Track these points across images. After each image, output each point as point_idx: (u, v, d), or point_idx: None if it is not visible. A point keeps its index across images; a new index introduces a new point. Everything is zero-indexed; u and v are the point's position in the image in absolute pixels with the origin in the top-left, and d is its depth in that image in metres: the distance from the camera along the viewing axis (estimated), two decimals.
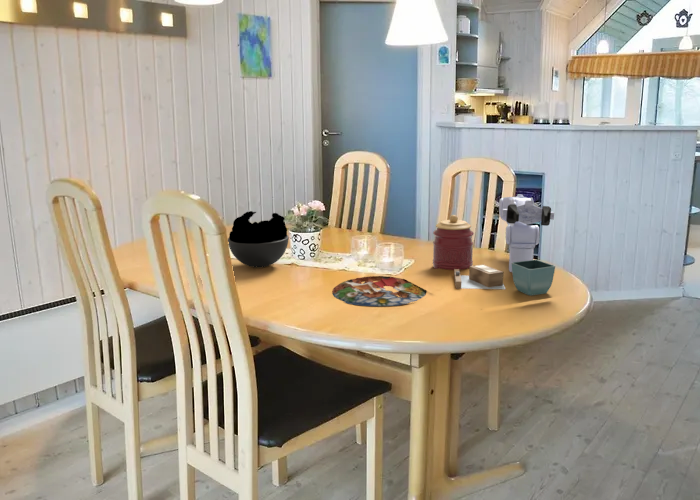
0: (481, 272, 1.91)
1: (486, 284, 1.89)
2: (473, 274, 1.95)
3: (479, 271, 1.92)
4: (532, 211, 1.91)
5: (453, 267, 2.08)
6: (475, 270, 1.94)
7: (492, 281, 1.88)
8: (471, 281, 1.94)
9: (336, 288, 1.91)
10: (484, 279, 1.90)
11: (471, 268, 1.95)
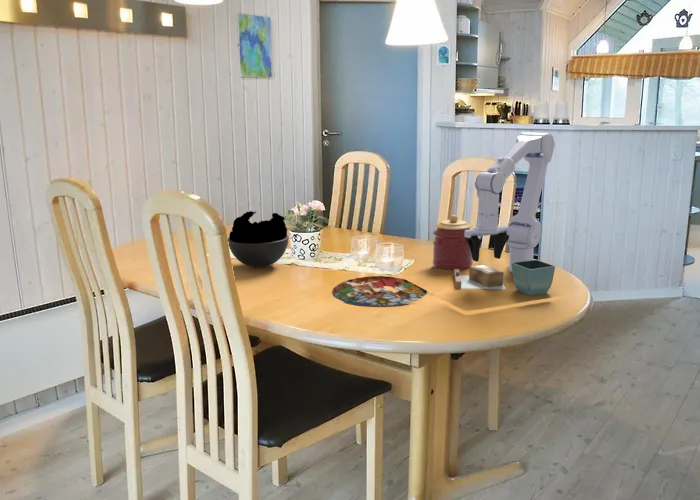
0: (481, 272, 1.91)
1: (486, 284, 1.89)
2: (473, 274, 1.95)
3: (479, 271, 1.92)
4: None
5: (453, 267, 2.08)
6: (475, 270, 1.94)
7: (492, 281, 1.88)
8: (471, 281, 1.94)
9: (336, 288, 1.91)
10: (484, 279, 1.90)
11: (471, 268, 1.95)
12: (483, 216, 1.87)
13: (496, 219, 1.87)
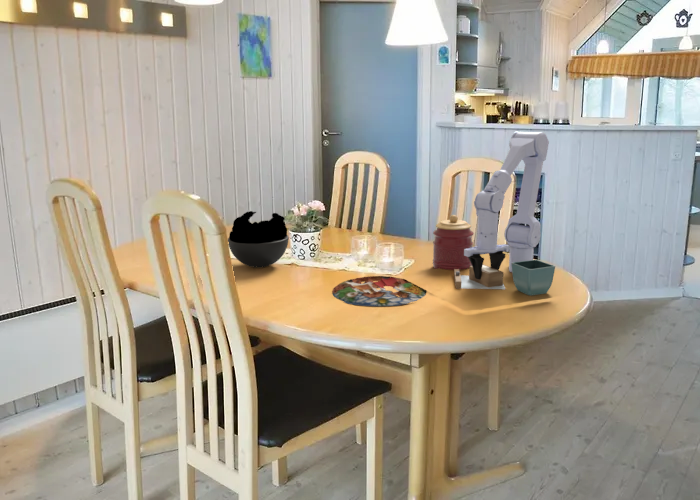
0: None
1: (486, 284, 1.89)
2: (473, 274, 1.95)
3: None
4: None
5: (453, 267, 2.08)
6: None
7: (492, 281, 1.88)
8: (471, 281, 1.94)
9: (336, 288, 1.91)
10: (484, 279, 1.90)
11: (471, 268, 1.95)
12: (482, 235, 1.88)
13: (495, 238, 1.89)
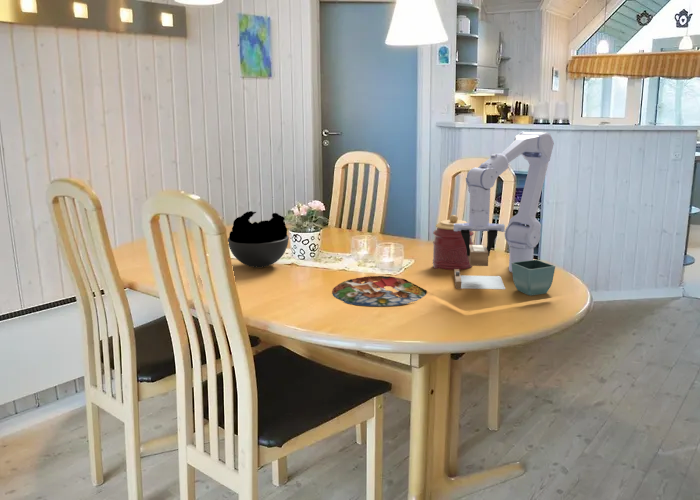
0: None
1: (470, 262, 1.89)
2: None
3: None
4: None
5: (453, 267, 2.08)
6: None
7: (474, 260, 1.87)
8: (471, 281, 1.94)
9: (336, 288, 1.91)
10: None
11: None
12: (471, 211, 1.88)
13: (484, 215, 1.87)
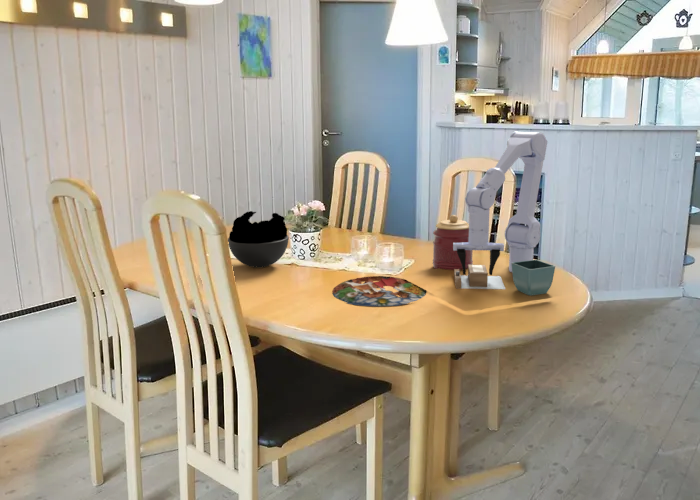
0: (469, 271, 1.92)
1: (469, 283, 1.90)
2: (468, 273, 1.96)
3: (469, 270, 1.93)
4: None
5: (453, 267, 2.08)
6: None
7: (474, 281, 1.89)
8: None
9: (336, 288, 1.91)
10: (469, 278, 1.91)
11: (468, 267, 1.97)
12: (470, 231, 1.89)
13: (483, 235, 1.88)
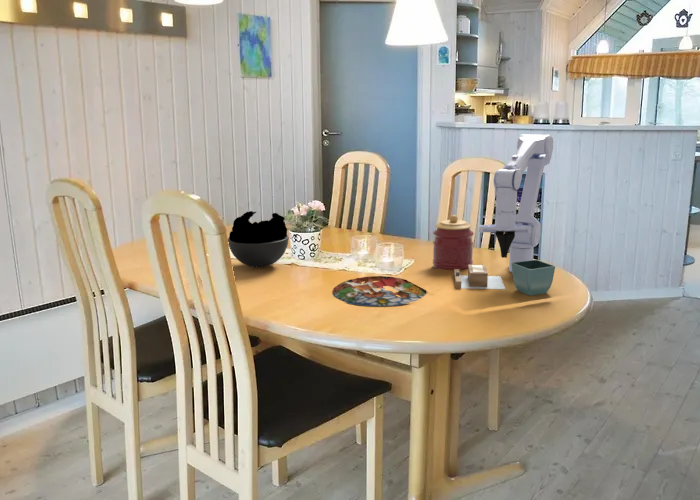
0: (469, 271, 1.92)
1: (469, 283, 1.90)
2: (468, 273, 1.96)
3: (469, 270, 1.93)
4: None
5: (453, 267, 2.08)
6: None
7: (474, 281, 1.89)
8: None
9: (336, 288, 1.91)
10: (469, 278, 1.91)
11: (468, 267, 1.97)
12: (497, 212, 1.87)
13: (510, 217, 1.86)
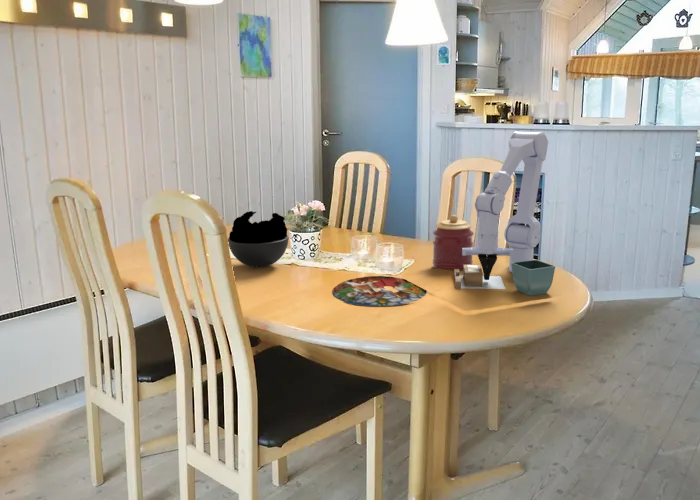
0: (464, 271, 1.92)
1: (464, 283, 1.90)
2: (463, 272, 1.97)
3: (464, 270, 1.93)
4: None
5: (453, 267, 2.08)
6: None
7: (469, 281, 1.89)
8: None
9: (336, 288, 1.91)
10: (464, 278, 1.91)
11: (463, 266, 1.97)
12: (479, 236, 1.89)
13: (492, 240, 1.88)
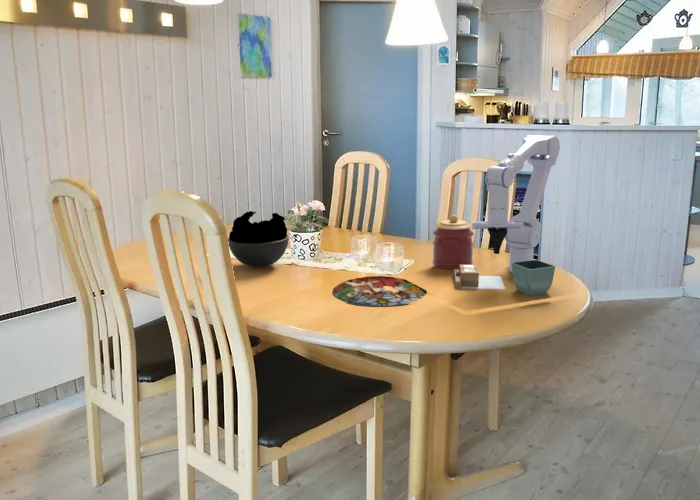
0: (460, 271, 1.92)
1: None
2: None
3: (460, 270, 1.93)
4: None
5: (453, 267, 2.08)
6: None
7: (465, 281, 1.89)
8: None
9: (336, 288, 1.91)
10: None
11: None
12: (489, 209, 1.89)
13: (502, 213, 1.88)
